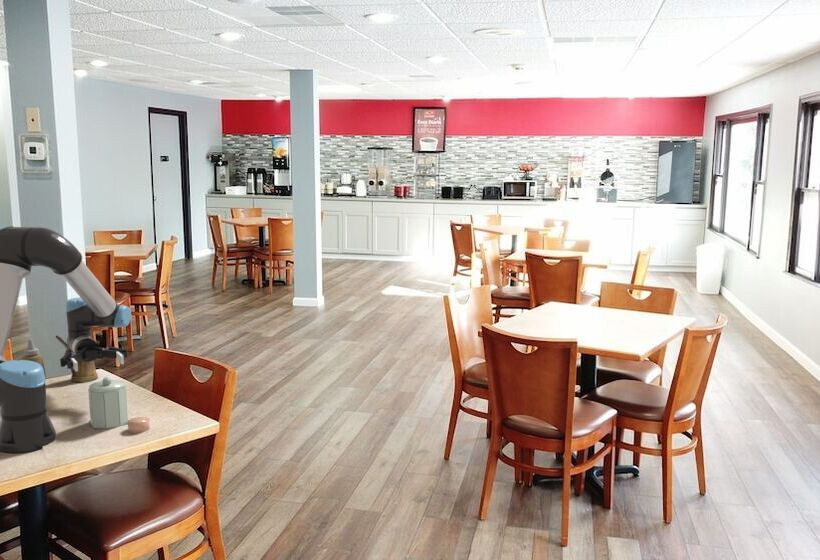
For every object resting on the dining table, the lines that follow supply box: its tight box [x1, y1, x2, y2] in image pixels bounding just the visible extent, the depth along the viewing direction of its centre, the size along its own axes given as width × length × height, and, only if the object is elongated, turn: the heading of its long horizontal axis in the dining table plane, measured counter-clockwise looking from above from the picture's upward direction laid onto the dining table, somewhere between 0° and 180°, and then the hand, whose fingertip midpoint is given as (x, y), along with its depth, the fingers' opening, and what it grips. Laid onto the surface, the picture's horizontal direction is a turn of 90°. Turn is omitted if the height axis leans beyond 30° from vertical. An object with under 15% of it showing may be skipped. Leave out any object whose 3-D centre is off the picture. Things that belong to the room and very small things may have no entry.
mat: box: [88, 420, 128, 431], centre depth 225 cm, size 10×10×1 cm
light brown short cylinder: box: [127, 416, 150, 434], centre depth 219 cm, size 6×6×4 cm
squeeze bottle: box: [21, 338, 47, 379], centre depth 258 cm, size 8×8×18 cm
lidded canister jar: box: [88, 376, 129, 430], centre depth 223 cm, size 10×10×14 cm
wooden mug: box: [55, 335, 99, 383], centre depth 269 cm, size 9×14×18 cm, turn 131°
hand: (99, 363), depth 230 cm, fingers open, 13 cm apart
